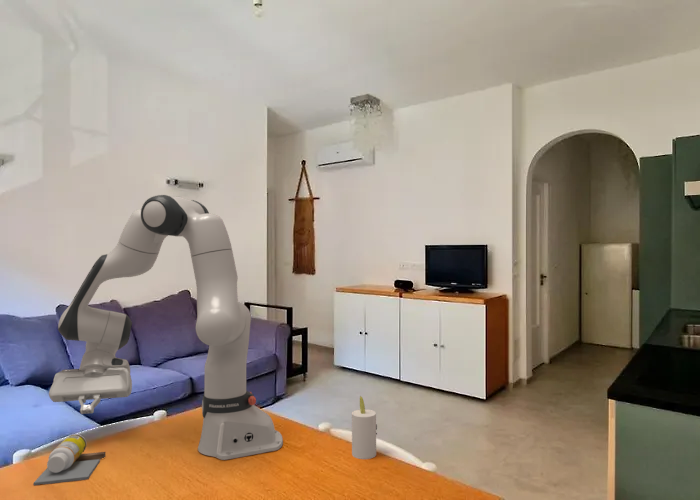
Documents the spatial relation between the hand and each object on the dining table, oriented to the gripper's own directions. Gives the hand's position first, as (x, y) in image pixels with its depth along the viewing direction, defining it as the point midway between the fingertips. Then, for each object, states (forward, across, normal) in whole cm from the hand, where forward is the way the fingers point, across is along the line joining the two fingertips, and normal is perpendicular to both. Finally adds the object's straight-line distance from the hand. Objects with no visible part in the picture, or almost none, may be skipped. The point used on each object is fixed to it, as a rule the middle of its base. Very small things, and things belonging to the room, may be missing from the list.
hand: (86, 412), depth 123 cm
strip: (+12, 0, +2) cm, 12 cm away
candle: (+23, +71, -10) cm, 75 cm away
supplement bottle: (+8, 0, 0) cm, 9 cm away
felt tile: (+17, 0, -3) cm, 17 cm away
